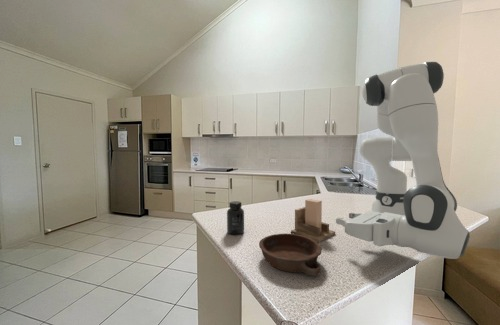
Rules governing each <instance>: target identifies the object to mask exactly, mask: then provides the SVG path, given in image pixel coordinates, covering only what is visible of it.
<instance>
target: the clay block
mask: <svg viewBox="0 0 500 325" xmlns="http://www.w3.org/2000/svg"><path fill="white" fill-rule="evenodd" d="M304 202H305V203H304V204H305V206H304V207H305V224H308V225H312V226H315V227H319V228H320V232H321V222H323V221H322V219H323V218H322V215H323V210H322V207H323V206H322V205H323V204H322V203H323V200H318V199H313V198H307V199H305V201H304Z"/></svg>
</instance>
